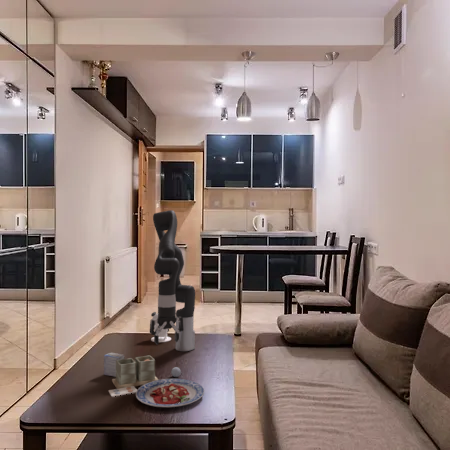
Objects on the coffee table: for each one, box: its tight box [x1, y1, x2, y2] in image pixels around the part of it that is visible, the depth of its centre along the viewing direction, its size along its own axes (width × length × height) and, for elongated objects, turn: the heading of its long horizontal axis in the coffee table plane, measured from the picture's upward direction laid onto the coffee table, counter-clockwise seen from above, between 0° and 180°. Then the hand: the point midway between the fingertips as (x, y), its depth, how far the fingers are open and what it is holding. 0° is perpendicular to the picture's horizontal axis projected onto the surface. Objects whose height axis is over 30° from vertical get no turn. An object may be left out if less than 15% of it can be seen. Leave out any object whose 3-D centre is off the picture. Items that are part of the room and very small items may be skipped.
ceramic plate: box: [135, 378, 205, 408], centre depth 158 cm, size 26×26×3 cm
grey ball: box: [170, 366, 182, 378], centre depth 179 cm, size 4×4×4 cm
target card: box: [108, 386, 138, 398], centre depth 162 cm, size 10×6×1 cm, turn 117°
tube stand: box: [111, 355, 159, 389], centre depth 173 cm, size 17×9×9 cm, turn 117°
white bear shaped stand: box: [150, 311, 172, 343], centre depth 235 cm, size 12×11×15 cm
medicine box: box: [103, 352, 125, 378], centre depth 180 cm, size 8×4×9 cm, turn 65°
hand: (166, 342), depth 178 cm, fingers open, 8 cm apart
